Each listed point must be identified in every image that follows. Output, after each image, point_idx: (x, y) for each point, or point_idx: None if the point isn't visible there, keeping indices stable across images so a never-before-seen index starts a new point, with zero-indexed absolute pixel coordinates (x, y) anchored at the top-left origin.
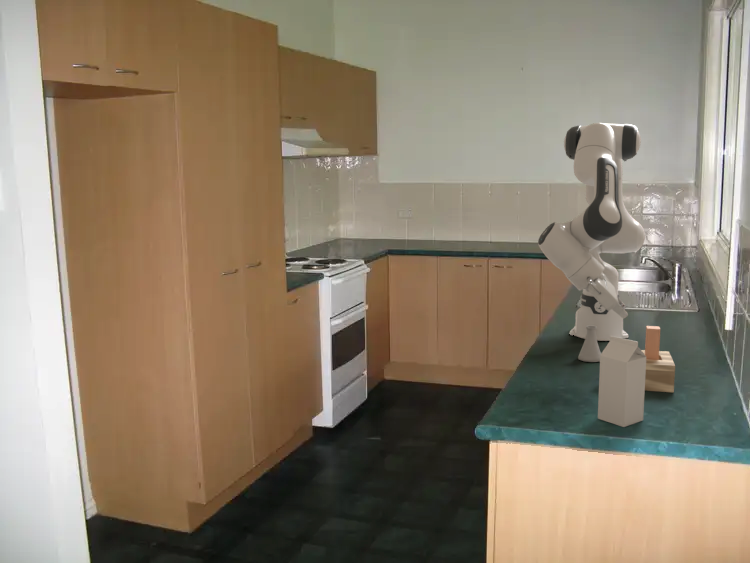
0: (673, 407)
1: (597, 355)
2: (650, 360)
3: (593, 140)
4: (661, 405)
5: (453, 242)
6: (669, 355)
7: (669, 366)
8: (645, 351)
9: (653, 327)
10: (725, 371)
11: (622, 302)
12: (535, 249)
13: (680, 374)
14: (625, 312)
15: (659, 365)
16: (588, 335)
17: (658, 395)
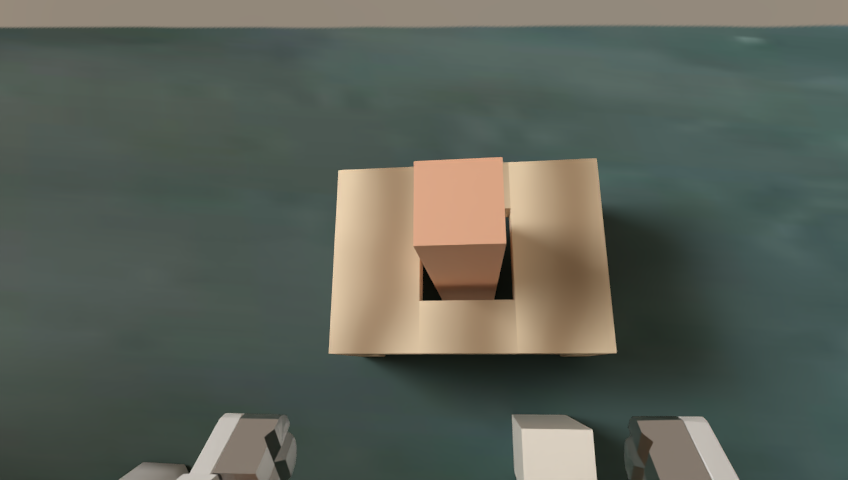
0: (766, 216)
1: None
2: (533, 262)
3: None
4: (759, 256)
5: None
6: (411, 172)
7: (598, 184)
8: (469, 279)
9: (457, 199)
10: (265, 29)
11: (208, 458)
12: None
13: (327, 164)
14: (717, 453)
15: (603, 226)
16: None
17: (629, 258)
